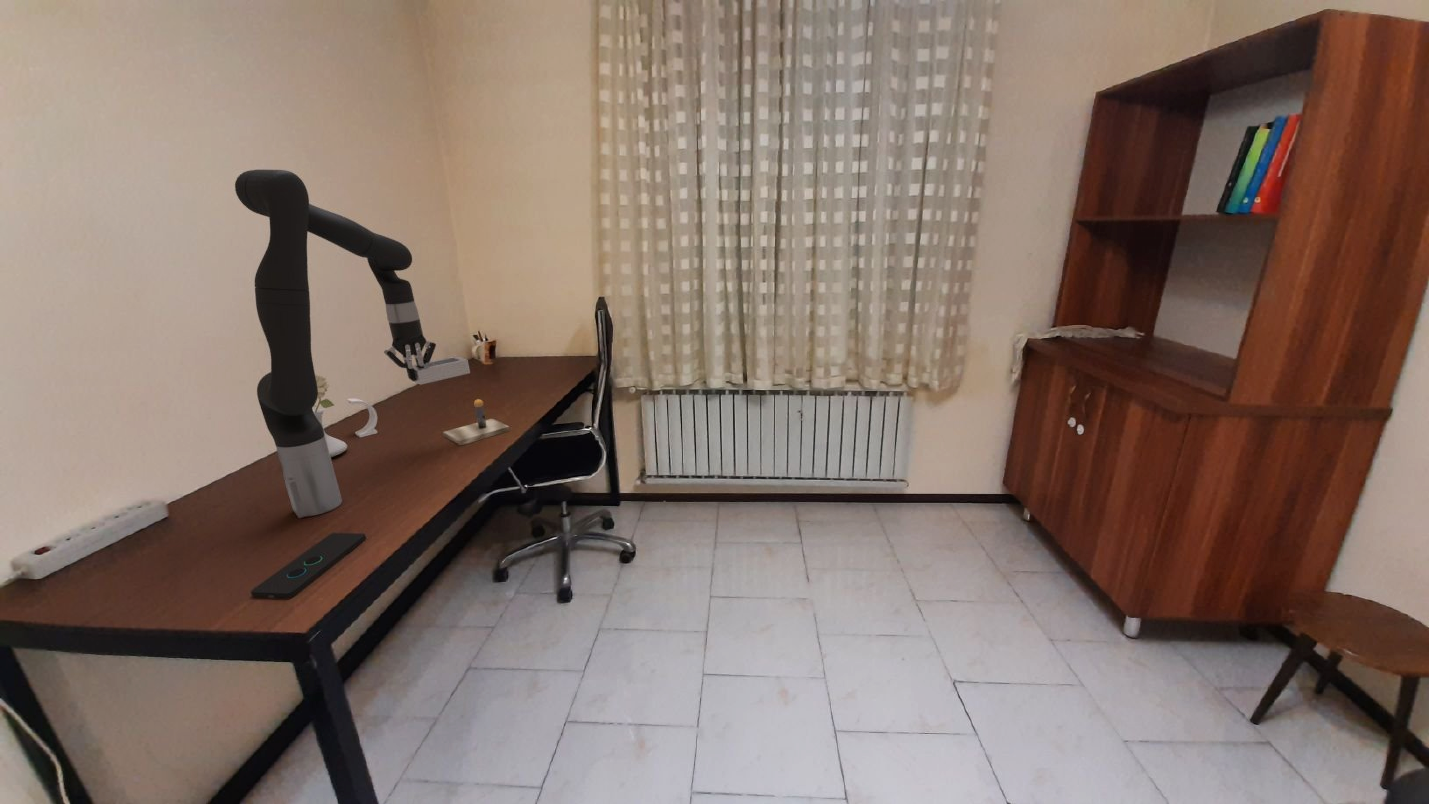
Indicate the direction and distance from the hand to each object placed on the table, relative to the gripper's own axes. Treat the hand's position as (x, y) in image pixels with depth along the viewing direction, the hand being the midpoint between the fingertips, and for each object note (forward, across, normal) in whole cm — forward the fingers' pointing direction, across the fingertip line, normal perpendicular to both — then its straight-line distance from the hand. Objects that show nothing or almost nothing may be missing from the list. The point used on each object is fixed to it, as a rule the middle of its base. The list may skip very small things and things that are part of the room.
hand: (417, 379), depth 156 cm
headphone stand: (+22, -8, +33) cm, 40 cm away
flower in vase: (+22, -22, +21) cm, 37 cm away
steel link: (+1, +6, 0) cm, 6 cm away
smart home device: (+21, -39, -43) cm, 62 cm away
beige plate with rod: (+22, +15, +4) cm, 27 cm away
